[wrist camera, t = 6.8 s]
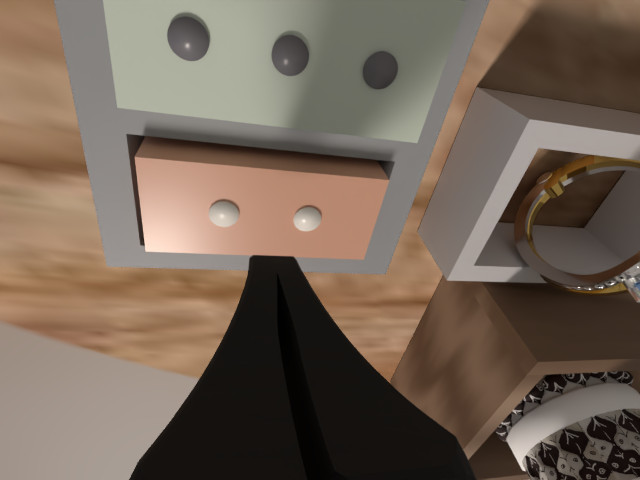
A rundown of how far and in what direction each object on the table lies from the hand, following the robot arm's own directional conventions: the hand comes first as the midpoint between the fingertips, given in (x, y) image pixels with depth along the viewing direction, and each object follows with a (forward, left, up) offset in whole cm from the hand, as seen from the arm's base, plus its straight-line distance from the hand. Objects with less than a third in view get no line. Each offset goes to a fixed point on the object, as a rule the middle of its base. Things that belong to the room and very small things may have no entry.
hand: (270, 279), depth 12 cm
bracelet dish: (+1, -15, -7) cm, 17 cm away
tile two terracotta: (0, 0, -7) cm, 7 cm away
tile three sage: (+6, 0, -5) cm, 8 cm away
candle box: (-11, -19, -7) cm, 23 cm away
